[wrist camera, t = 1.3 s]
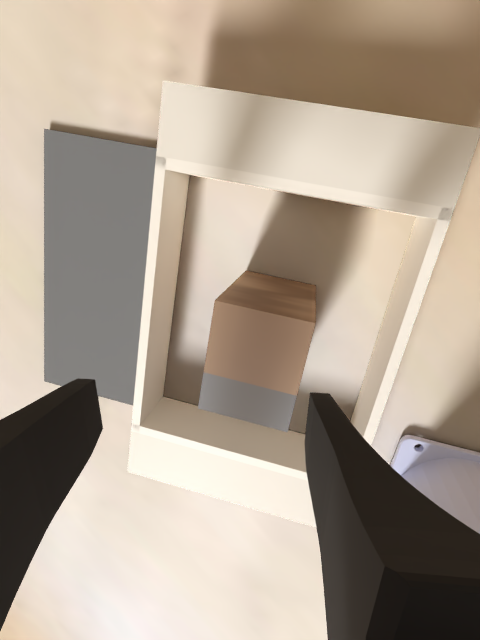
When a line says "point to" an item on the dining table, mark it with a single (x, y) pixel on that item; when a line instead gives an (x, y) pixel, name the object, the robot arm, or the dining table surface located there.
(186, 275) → the dining table surface
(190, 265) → the dining table surface
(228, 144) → the carton
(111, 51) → the dining table surface
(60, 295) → the mat
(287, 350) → the block
